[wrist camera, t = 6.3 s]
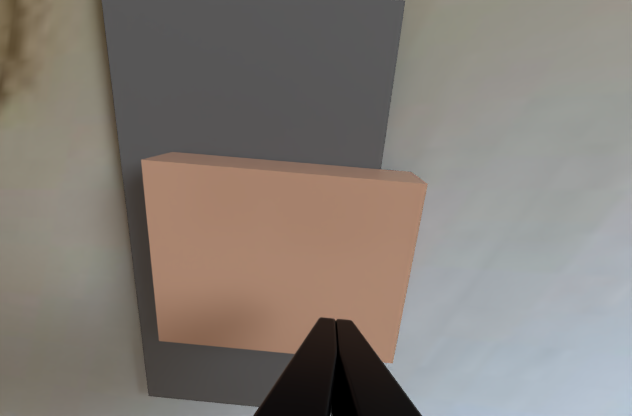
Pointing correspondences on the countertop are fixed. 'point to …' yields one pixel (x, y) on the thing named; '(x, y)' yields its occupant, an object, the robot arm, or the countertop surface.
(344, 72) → the mat
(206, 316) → the tile
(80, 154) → the countertop surface
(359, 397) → the robot arm
